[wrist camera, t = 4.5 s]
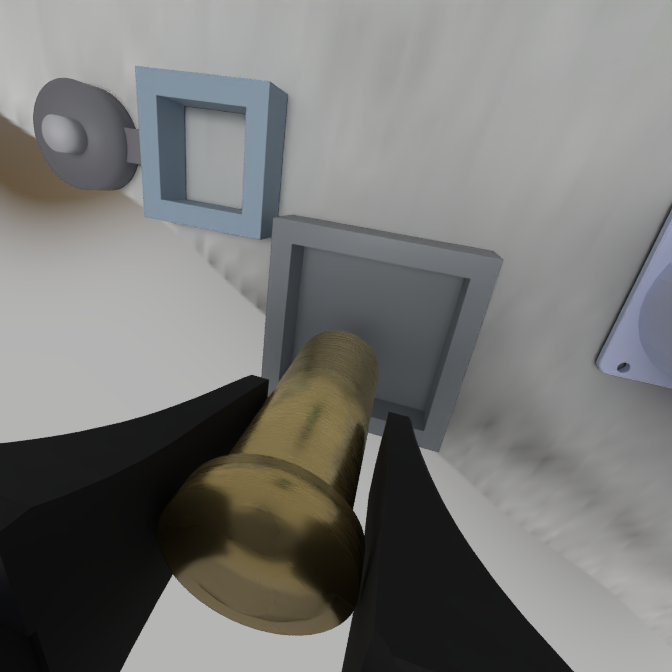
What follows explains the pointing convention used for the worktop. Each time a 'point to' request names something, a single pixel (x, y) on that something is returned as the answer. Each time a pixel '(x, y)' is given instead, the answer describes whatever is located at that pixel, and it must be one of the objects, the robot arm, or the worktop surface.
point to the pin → (283, 500)
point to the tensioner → (164, 143)
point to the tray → (381, 311)
